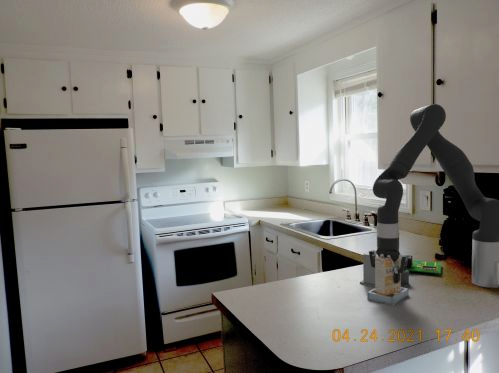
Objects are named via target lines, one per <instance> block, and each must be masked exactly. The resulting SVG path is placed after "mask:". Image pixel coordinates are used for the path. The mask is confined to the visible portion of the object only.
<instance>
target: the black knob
mask: <svg viewBox="0 0 499 373" xmlns="http://www.w3.org/2000/svg"><path fill="white" fill-rule="evenodd" d="M409 284H410V273H409V271H408V270H406V271H405V272H403V273H401V286H409Z"/></svg>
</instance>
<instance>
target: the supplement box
mask: <svg viewBox="0 0 499 373" xmlns="http://www.w3.org/2000/svg"><path fill="white" fill-rule="evenodd" d="M397 261H398V262H399V267H400V265H401V261H400V258H398V259H397ZM397 261H396V262H395V263H394V264H397ZM391 262H392V261H391V260H390V259H389V258H388V257H375V287H374V288H375V292H376V293H378V294H381V295H384V296H386V295H389V294H393V293H396V292H401V287H402V285H401V273H400V282H399V283H397V284H395V283H394V273H395V272H394V269H393V268H392V266H391Z"/></svg>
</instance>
